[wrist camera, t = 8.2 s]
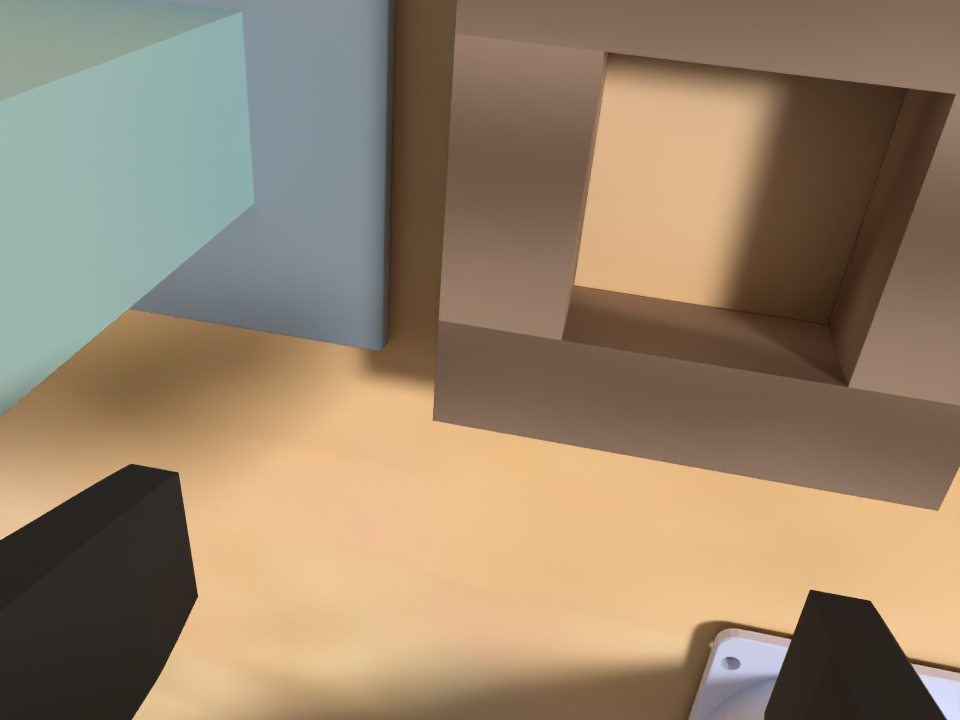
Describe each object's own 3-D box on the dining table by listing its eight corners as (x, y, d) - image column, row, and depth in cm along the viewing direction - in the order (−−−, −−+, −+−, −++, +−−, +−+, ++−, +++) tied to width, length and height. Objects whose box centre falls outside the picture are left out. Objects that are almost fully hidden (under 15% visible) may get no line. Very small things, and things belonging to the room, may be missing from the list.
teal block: (254, 203, 19) (-30, 440, 11) (88, 177, 19) (-290, 388, 12) (241, 11, 17) (-118, 144, 9) (55, -12, 17) (-432, 96, 10)
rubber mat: (388, 341, 21) (382, 351, 20) (13, 278, 22) (0, 287, 21) (398, -134, 15) (390, -133, 15) (-97, -181, 16) (-117, -182, 16)
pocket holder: (908, 438, 19) (938, 510, 17) (457, 362, 20) (433, 420, 18) (1132, -81, 14) (1216, -69, 12) (494, -141, 15) (464, -140, 13)
